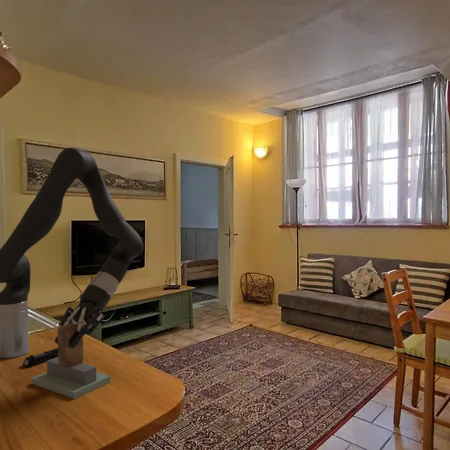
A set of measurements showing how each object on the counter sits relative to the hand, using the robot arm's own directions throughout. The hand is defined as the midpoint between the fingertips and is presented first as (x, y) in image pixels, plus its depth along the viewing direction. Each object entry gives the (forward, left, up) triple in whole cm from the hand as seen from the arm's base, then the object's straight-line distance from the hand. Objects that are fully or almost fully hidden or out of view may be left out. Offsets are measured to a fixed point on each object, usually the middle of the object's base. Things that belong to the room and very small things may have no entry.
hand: (63, 344), depth 95 cm
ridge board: (0, +2, -11) cm, 11 cm away
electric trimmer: (-22, +9, -11) cm, 27 cm away
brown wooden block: (0, +2, -6) cm, 6 cm away
